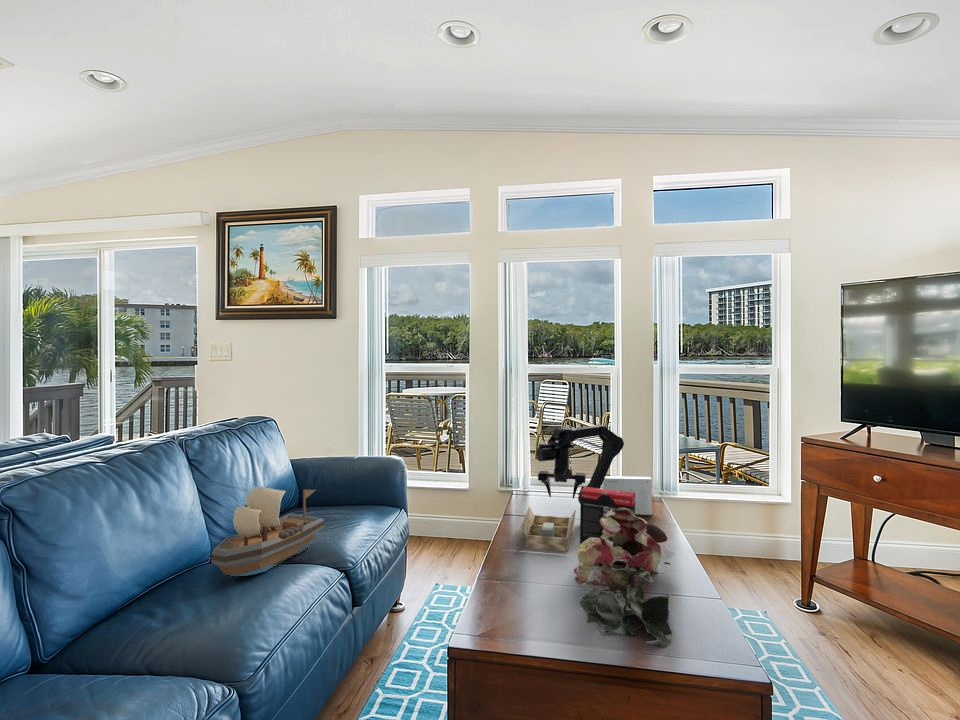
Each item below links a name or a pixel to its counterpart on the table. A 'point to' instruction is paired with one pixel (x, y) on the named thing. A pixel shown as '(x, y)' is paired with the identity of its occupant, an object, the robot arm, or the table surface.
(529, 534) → the wooden cubby shelf
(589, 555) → the rose bouquet
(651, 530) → the decorative mushroom
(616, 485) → the skincare box
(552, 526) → the box
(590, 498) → the graphics card box
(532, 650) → the table surface
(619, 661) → the table surface
